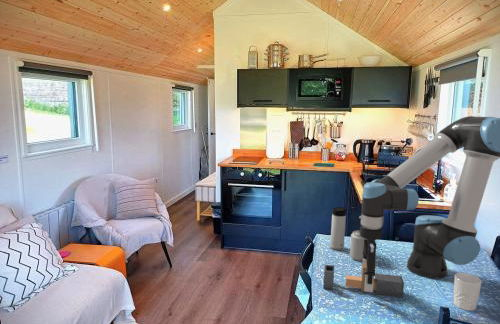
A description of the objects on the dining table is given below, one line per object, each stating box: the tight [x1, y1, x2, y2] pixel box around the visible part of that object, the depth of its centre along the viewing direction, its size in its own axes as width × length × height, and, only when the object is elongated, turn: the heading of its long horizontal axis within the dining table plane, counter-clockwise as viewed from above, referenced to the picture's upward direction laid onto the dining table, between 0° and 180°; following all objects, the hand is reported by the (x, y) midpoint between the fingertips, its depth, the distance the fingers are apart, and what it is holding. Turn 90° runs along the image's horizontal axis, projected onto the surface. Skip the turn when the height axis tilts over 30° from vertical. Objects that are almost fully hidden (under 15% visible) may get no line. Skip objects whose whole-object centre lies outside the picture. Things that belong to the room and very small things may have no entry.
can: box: [349, 230, 365, 262], centre depth 159 cm, size 8×8×12 cm
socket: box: [323, 264, 335, 291], centre depth 134 cm, size 4×6×7 cm, turn 167°
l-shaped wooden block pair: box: [345, 262, 377, 293], centre depth 131 cm, size 18×4×9 cm, turn 77°
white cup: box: [453, 272, 482, 312], centre depth 122 cm, size 8×8×10 cm
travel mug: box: [329, 206, 348, 252], centre depth 169 cm, size 6×7×20 cm
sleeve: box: [374, 272, 405, 299], centre depth 130 cm, size 9×5×6 cm, turn 77°
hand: (366, 283), depth 131 cm, fingers open, 11 cm apart
